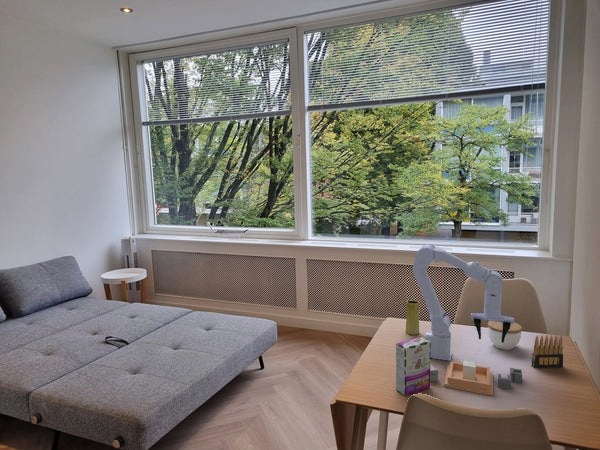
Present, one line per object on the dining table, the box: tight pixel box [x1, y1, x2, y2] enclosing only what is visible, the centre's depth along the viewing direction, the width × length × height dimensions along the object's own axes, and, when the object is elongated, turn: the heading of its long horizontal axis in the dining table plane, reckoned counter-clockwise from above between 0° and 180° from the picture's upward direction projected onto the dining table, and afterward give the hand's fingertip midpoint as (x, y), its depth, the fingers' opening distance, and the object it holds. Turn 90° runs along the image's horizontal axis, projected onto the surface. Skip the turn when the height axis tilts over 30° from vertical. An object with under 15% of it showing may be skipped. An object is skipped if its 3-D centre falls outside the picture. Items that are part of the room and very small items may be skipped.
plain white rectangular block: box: [462, 360, 477, 381], centre depth 144 cm, size 4×4×5 cm
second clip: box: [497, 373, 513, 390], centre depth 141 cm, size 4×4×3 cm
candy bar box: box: [395, 336, 431, 397], centre depth 138 cm, size 11×5×16 cm, turn 117°
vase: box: [404, 299, 420, 336], centre depth 187 cm, size 6×6×14 cm
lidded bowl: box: [487, 321, 523, 351], centre depth 172 cm, size 13×13×11 cm
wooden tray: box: [443, 360, 494, 396], centre depth 144 cm, size 15×15×3 cm
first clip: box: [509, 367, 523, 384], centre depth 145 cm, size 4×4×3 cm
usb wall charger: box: [430, 363, 439, 383], centre depth 148 cm, size 4×7×4 cm, turn 14°
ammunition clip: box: [531, 335, 564, 369], centre depth 153 cm, size 11×2×12 cm, turn 91°
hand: (491, 339), depth 155 cm, fingers open, 7 cm apart
